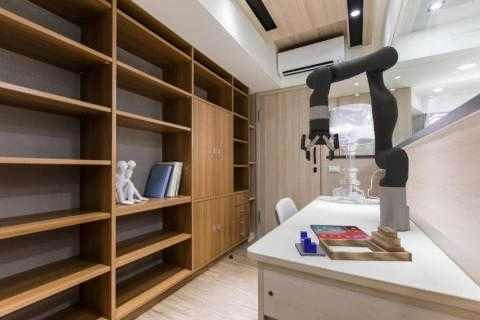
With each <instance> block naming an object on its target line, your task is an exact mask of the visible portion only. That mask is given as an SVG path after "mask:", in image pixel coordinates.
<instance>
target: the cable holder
mask: <svg viewBox="0 0 480 320" xmlns="http://www.w3.org/2000/svg"><path fill="white" fill-rule="evenodd" d="M299 232H300V234H299V237H300V238H299V241H300V242H299V243H301V246H302V248H303V251H304V253H317V245H316V242H314V241H312V238H311V237H308V231H305V230H301V231H299Z"/></svg>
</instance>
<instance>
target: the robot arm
mask: <svg viewBox="0 0 480 320" xmlns="http://www.w3.org/2000/svg"><path fill="white" fill-rule="evenodd" d="M398 61H399V53H398V50H397V49H396V48H394V47H393V46H390V45H388V46H387V45H386V46H383V47H380V48H378V49H377V50H375V51H373V52H370V53H368V54H366V55H363V56H359V57H357V58H353V59H350V60H346V61H341V62H338V63H335V64H332V65H331V66H326V65H319V66H317V67H316V68H315V69H314V70H312V71H310V73H309V74H308V75H307V76H306V79H305V85H306V86H307V88H309V89H310V90H313V91H312V93H311V94H310V95H309V112H308V113H309V114H308V127H309V128H308V130H309V131H308V132H309V133H308V134H305V133H302V134H301V135H300V150H301V151H305V160H306V161H311V149H312V147H313V146H325V147H326V148H327V149H328V150H329V151H328V160H329V161H334V159H335V151H336V150H339V149H340V140H339V139H340V136H339V134H338V133H334V134H333V133H332V134H331V131H330V129H331V128H330V126H331V125H330V117H331V116H330V109H329V108H330V107H329V95H330V90H331V85H332V84H334V83H339V82H342V81H345V80H349V79H352V78H354V77H357V76H359V75H361V74H364V73H365V75H366V79H367V84H368V89H369V95H370V105H371V114H372V115H371V116H372V122H373V123H372V125H373V134H374V162H375V165H376V166H377V167H378V168H379V170H384V171H385V173H384V176H383V177H382V178H381V179H379V181H378V182H379V183H378V185H379V220H380V221H379V223H380V226H379V227H389V228H391V229H393V230H394V231H396V232H405V231H410V230H411V223H410V222H411V221H410V220H411V219H410V215H411V214H410V206H409V205H408V204H407V201H408V200H407V183H408V180H409V172H410V171H409V169H410V165H409V164H410V163H409V161H410V160H409V155H408V153H407V151H406V150H405V149H403V148H401V147H393V135H394V131H395V128H396V126H397V122H398V118H399V109H398V101H397V99H396V97H395V96H394V94H393V93H392V92H391V91H390V90H389V88H388V87H387V86H386V85H385V81H384V72H386V71H388V70H389V69H391V68H393V67H394V66H395V65H396V64H397V62H398ZM330 138H331V140H332V141H333V144H332V142H331V141H330ZM307 139H308V140H309V143H308V144H307V145H306V140H307Z"/></svg>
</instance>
